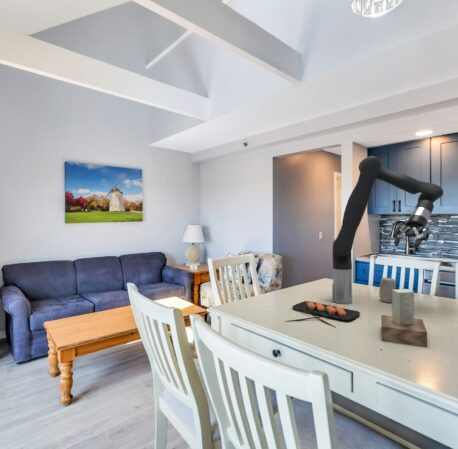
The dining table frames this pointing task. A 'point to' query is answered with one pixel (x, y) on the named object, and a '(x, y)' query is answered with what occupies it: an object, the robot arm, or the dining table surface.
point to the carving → (386, 289)
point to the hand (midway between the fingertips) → (405, 245)
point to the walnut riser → (404, 331)
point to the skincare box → (403, 306)
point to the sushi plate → (325, 311)
